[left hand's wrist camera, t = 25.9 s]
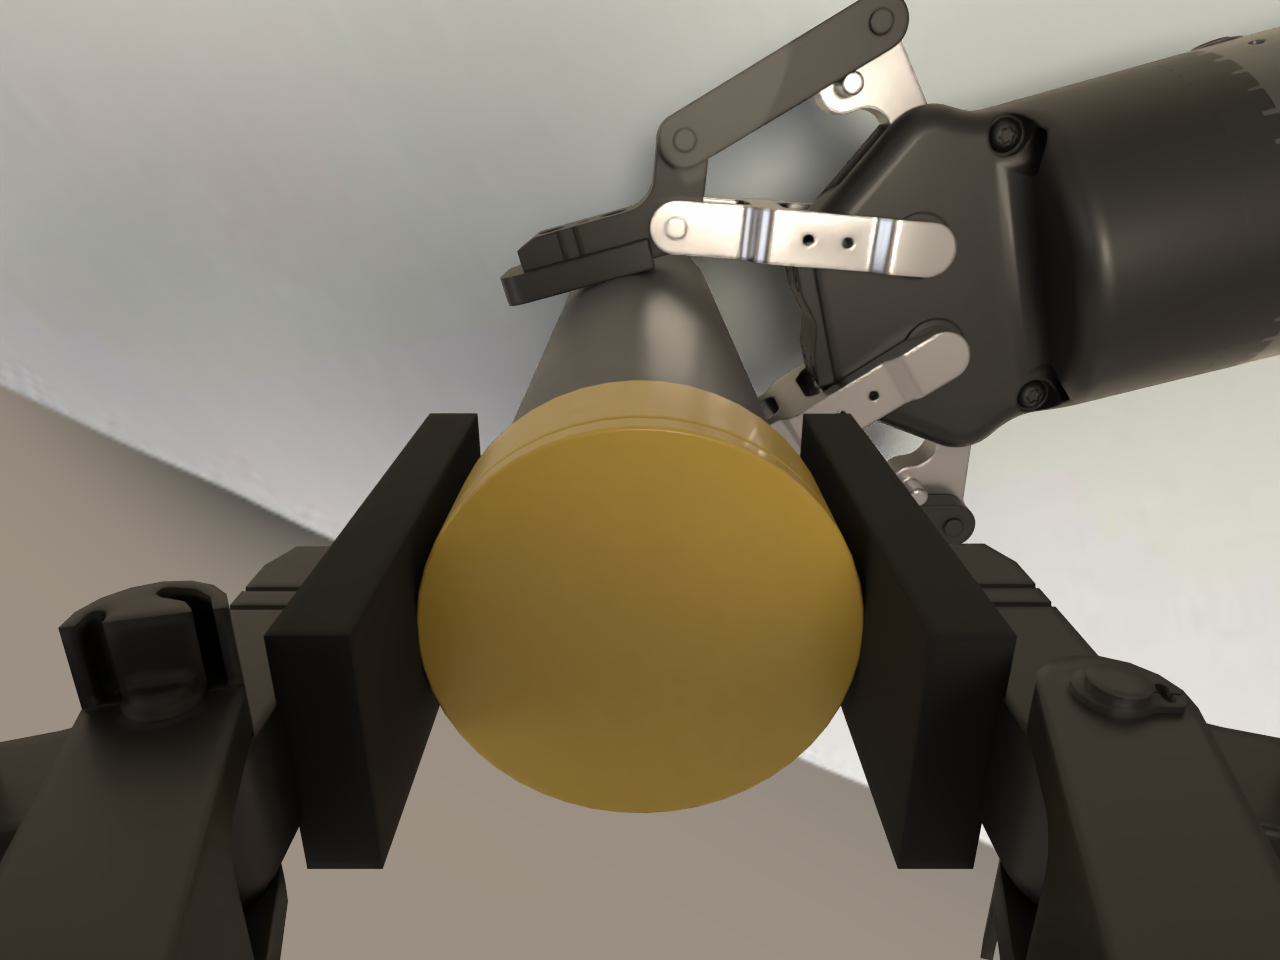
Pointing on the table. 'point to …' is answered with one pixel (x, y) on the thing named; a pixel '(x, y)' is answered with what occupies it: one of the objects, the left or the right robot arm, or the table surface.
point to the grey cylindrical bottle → (643, 338)
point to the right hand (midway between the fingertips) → (543, 387)
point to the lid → (640, 601)
